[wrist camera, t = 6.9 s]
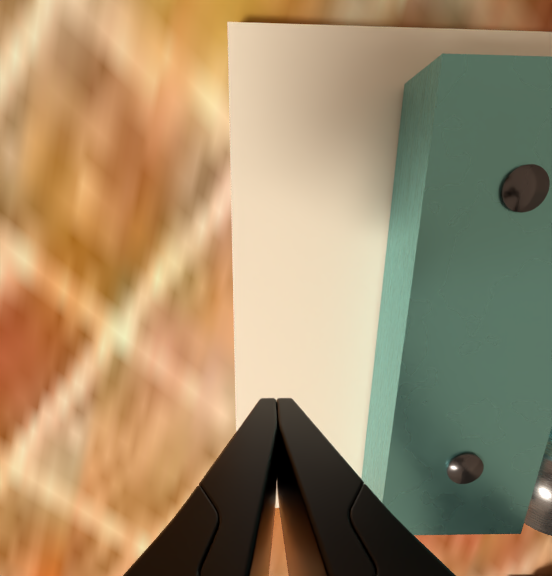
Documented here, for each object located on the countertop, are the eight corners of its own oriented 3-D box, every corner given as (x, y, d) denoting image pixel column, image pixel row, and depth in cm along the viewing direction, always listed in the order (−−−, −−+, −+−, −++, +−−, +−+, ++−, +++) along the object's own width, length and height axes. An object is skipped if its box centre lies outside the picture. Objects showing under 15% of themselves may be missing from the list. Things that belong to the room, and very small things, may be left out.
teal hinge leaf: (545, 481, 19) (602, 540, 16) (360, 482, 19) (380, 543, 15) (662, 90, 14) (789, 57, 10) (404, 84, 13) (449, 48, 10)
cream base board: (649, 489, 21) (668, 503, 20) (239, 493, 20) (237, 508, 19) (830, 51, 14) (871, 41, 13) (230, 33, 14) (227, 21, 13)
